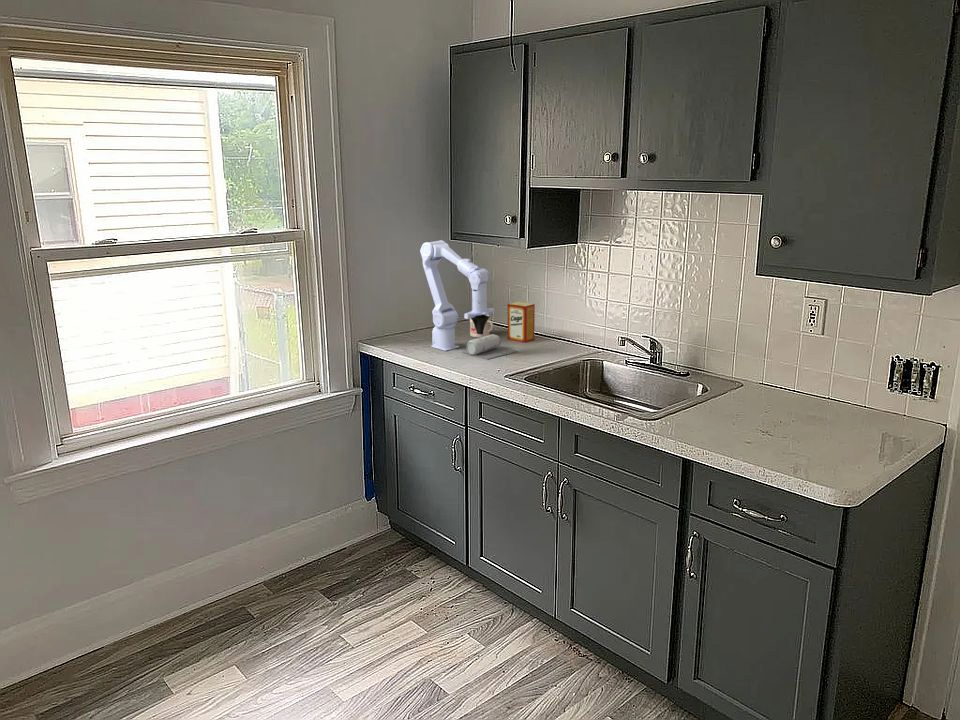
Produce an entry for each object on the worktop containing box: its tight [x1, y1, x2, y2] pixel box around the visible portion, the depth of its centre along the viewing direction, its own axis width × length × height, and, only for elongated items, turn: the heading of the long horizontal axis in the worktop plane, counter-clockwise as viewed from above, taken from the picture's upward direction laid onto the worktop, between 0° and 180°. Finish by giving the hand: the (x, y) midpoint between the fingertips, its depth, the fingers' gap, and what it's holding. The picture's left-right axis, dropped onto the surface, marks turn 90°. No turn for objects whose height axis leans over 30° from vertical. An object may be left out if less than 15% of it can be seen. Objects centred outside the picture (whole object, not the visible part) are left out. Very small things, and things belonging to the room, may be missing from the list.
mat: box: [461, 345, 519, 361], centre depth 300 cm, size 15×17×1 cm
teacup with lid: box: [469, 314, 494, 338], centre depth 326 cm, size 12×9×12 cm
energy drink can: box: [466, 333, 502, 356], centre depth 299 cm, size 6×6×15 cm
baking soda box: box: [507, 301, 536, 344], centre depth 318 cm, size 10×6×16 cm
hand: (479, 333), depth 294 cm, fingers closed
